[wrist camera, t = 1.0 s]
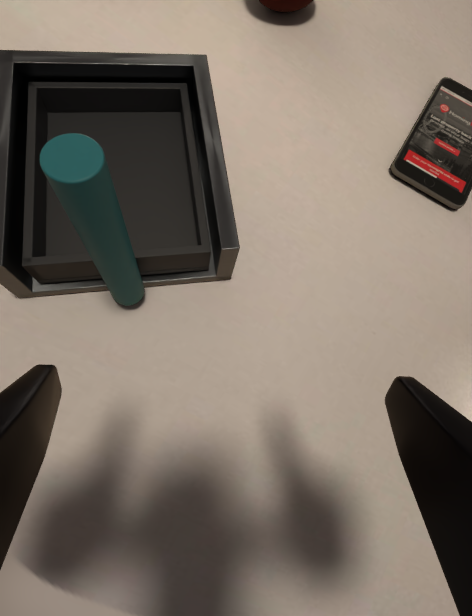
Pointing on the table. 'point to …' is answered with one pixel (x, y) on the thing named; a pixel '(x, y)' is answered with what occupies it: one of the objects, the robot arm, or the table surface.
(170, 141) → the black compartment tray
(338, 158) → the table surface
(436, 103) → the smartphone
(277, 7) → the potato
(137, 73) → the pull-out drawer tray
